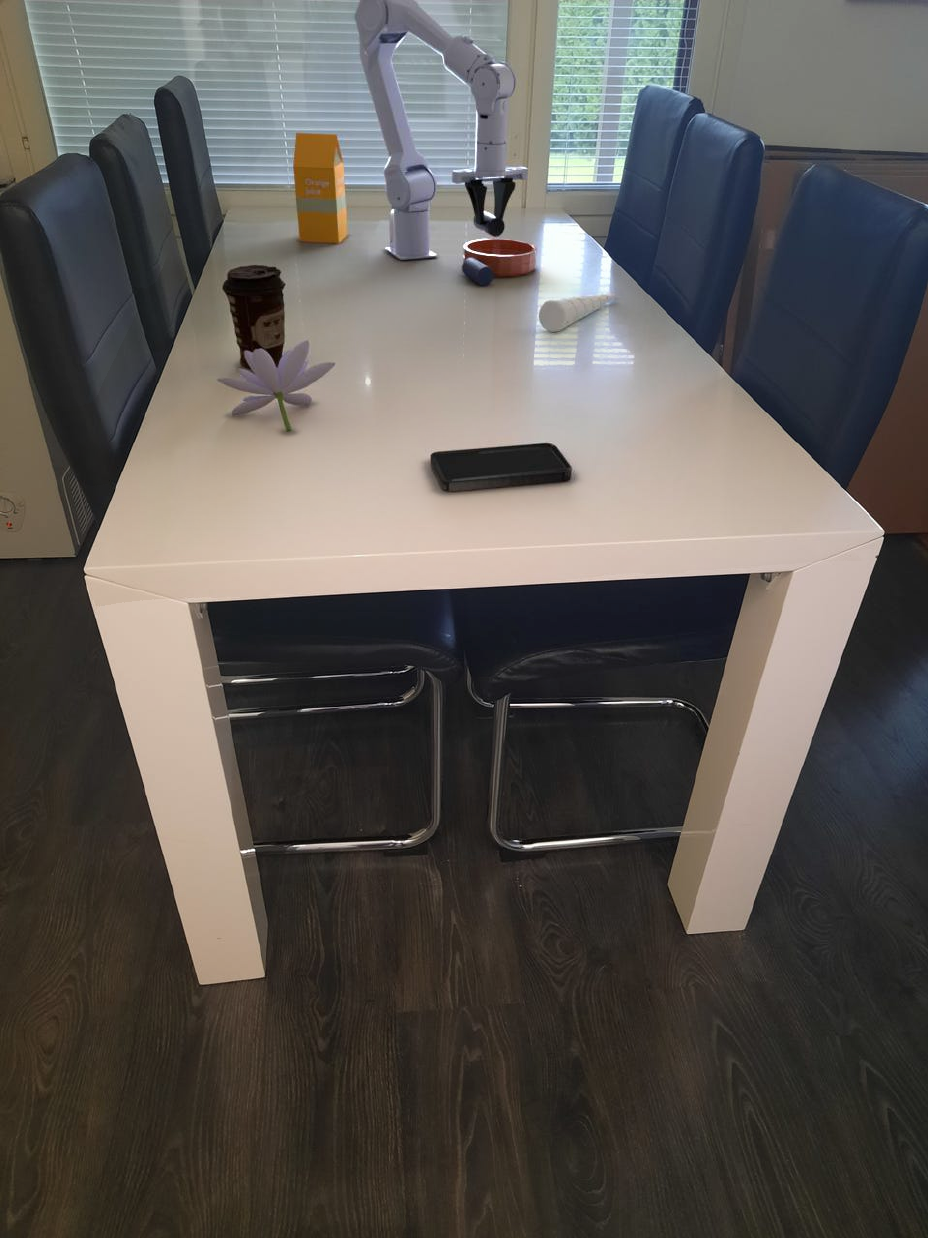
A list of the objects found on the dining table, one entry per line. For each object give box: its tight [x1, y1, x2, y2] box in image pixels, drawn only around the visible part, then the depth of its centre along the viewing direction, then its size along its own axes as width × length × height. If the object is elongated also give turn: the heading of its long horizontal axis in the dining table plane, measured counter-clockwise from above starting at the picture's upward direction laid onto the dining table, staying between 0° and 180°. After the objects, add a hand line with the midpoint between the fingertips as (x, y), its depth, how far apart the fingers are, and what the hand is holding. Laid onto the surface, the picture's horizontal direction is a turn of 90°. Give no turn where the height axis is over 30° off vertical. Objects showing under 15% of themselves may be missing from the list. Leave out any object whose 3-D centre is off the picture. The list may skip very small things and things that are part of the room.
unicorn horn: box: [538, 293, 616, 333], centre depth 144 cm, size 5×24×5 cm, turn 142°
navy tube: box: [461, 258, 495, 287], centre depth 160 cm, size 7×3×3 cm
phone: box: [429, 442, 573, 492], centre depth 97 cm, size 8×1×15 cm
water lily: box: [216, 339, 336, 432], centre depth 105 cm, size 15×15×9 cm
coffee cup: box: [221, 264, 287, 372], centre depth 119 cm, size 9×8×13 cm
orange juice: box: [292, 132, 348, 244], centre depth 181 cm, size 8×9×20 cm
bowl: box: [462, 238, 538, 278], centre depth 168 cm, size 14×14×4 cm
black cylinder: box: [472, 210, 506, 238], centre depth 163 cm, size 7×3×3 cm, turn 24°
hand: (488, 222), depth 163 cm, fingers closed on black cylinder, 3 cm apart
